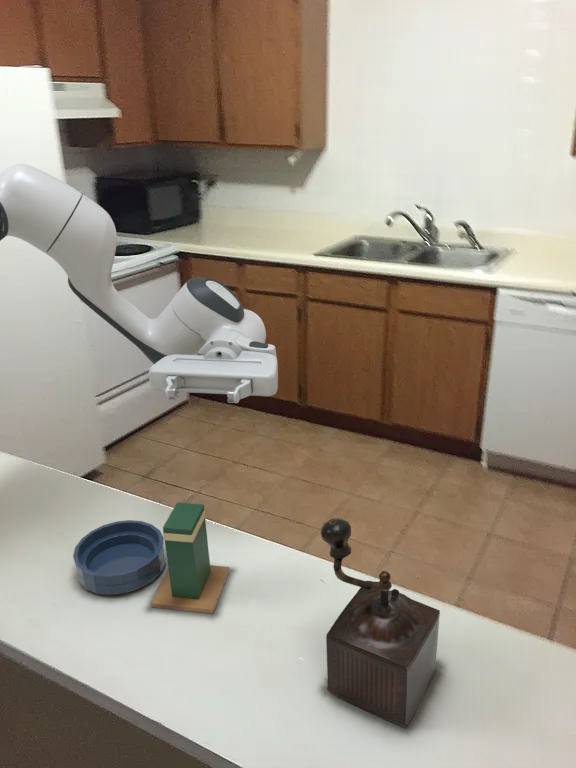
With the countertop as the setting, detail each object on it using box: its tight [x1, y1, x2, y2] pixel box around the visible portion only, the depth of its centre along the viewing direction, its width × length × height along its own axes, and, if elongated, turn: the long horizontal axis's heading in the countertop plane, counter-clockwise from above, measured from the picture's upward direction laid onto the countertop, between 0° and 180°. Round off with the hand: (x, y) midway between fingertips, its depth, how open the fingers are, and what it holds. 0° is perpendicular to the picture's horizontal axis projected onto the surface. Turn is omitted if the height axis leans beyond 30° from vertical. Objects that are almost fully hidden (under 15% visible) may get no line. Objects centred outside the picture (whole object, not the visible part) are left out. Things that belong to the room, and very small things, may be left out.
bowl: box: [72, 519, 167, 596], centre depth 101 cm, size 13×13×4 cm
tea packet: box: [162, 502, 211, 599], centre depth 95 cm, size 4×6×12 cm
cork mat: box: [150, 564, 230, 615], centre depth 97 cm, size 9×9×1 cm
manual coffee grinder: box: [320, 517, 441, 729], centre depth 79 cm, size 16×11×18 cm
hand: (200, 396), depth 98 cm, fingers open, 8 cm apart
